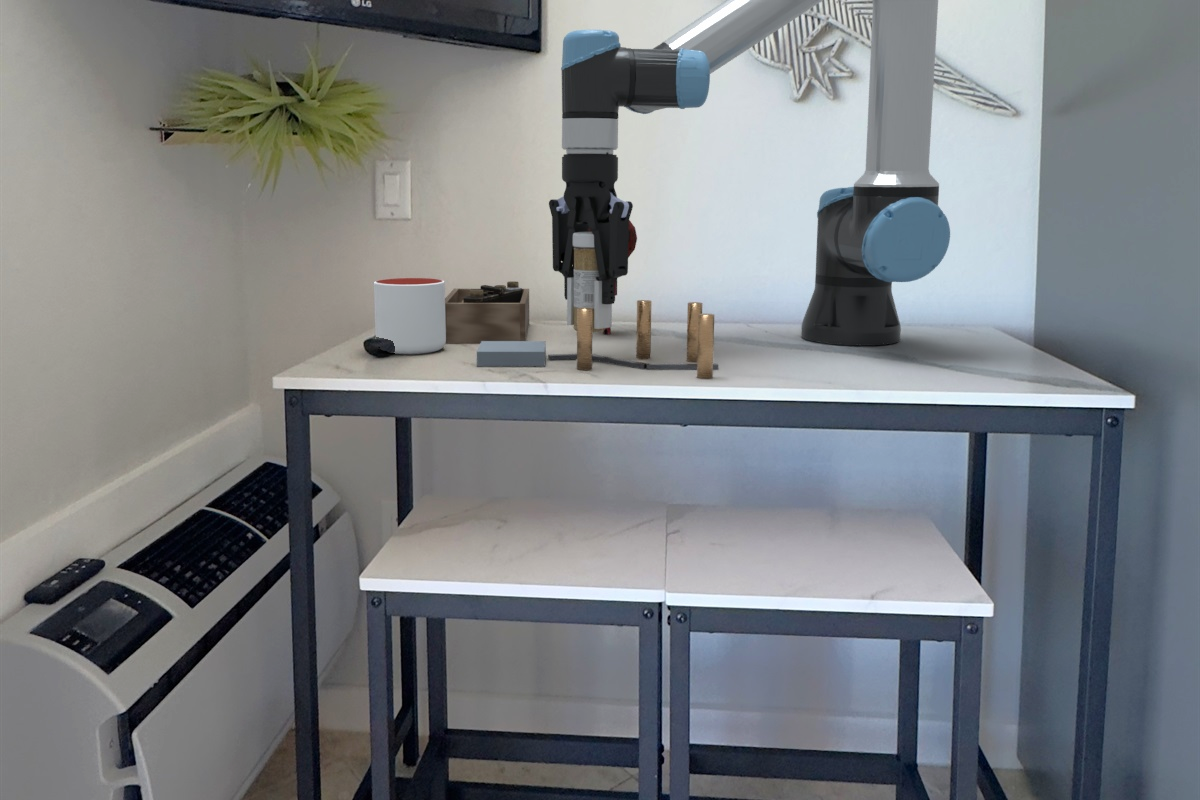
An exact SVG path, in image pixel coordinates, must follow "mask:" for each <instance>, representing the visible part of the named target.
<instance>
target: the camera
mask: <svg viewBox="0 0 1200 800" xmlns="http://www.w3.org/2000/svg"><path fill="white" fill-rule="evenodd" d="M519 284H520V283H519V281H507V282H506V285H503V284H502V285H501V284H499V285H498V284H497V285H494V286H493V285H486V284H484V285H480V288H470V289H471V290H470V296H467V297H464V298H463V301H462V302H461V303H520V301H521V298H522V295H523V289H524V288H522V287H519Z"/></svg>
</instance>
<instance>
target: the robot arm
mask: <svg viewBox="0 0 1200 800" xmlns="http://www.w3.org/2000/svg"><path fill="white" fill-rule="evenodd" d="M822 1H824V0H725V1H722V2H721V3H720V4H718V5H717V6H715V7H714V8H712V9H710V10H709V11H708V12H706V13H705V14H703V15H701V16H700V17H698V18H697V19H696V20H694V21H693V22H691V23H690V24H688V25H686V26H685V27H682V29H680V30H678V31H677V32H675V33H674V34H673V35H671V36H670V37H668V38H667V39H665V40H664V41H662V42H661V43H660V44H657V46H655V47H653V48H629V47H628V48H627V47H626V46H625V47H624V46H623V47H622V46H621V43H620V37H619V34H618V33H617V32H615V31H613V30H606V29H605V30H604V29H603V30H602V29H577V30H572V31H569V32H568V33H567V34H566V35H564V36H563V40H562V55H561V56H562V59H561V68H560V71H561V118H562V119H561V148H562V149H563V150H564V151H566V152H565V153H566V154H563V155H562V157H561V179H562V181H563V182H564V183H565V190H564V192H563V196H562V197H560V198H558V199H554V198H553V199H550V200H549V201H548V207H549V210H550V214H551V223H552V225H551V229H552V230H551V232H552V233H551V234H552V235H551V236H552V238H551V239H552V269H553V271H554V272H558V273H560V274H561V275H562V276H563V279H564V281H563V282H564V284H563V285H564V291H563V292H564V293H563V294H564V299H565V300H566V301H567V302H566V308H567V309H566V314H567V315H566V316H567V317H566V322H567V323H566V324H567V326H574V246H573V234H574V233H577V232H587V230H588V229H590V230H591V231H592V234H593V235H594V247H595V253H596V260H597V266H598V272H599V277H595V278H596V281H594V329H602V328H609V327H611V328H612V327H613V326H612V323H613V321H612V320H613V319H612V318H613V317H612V316H613V315H612V314H613V309H612V308H613V305H614V304H615V301H616V296H615V281H616V279H617V280H618V278H620V277H624V276H627V274H628V273H629V270H628V269H629V258H628V242H629V220H630V218H631V214H632V211H633V207H634V204H633V203H632V201H624V200H622V199H620V198H618V195H617V192H616V189H615V183H616V182H617V181H618V178H619V157H618V156H617V154H614V151H617V149H618V148H619V110H620V107H624V108H626V109H627V110H628V111H631V112H634V113H637V114H643V115H646V114H652V113H653V112H655V111H659V110H664V109H680V110H685V109H694V108H695V109H696V108H701V107H702V106H703V105H704V104H705V103H706V101H707V99H708V95H709V91H710V84H711V83H710V82H711V80H710V79H711V74H714V72H715V71H717V70H719V69H720V68H721V67H724V66H725V65H727V64H728V63H729V62H731V61H733V60H734V59H736V58H737V57H739V56H740V55H741V54H743V53H745V52H746V51H748V50H750V49H751V48H752V47H754V46H755V45H757V44H758V43H760V42H762V41H763V40H765V39H766V38H767V37H770V36H771V35H772V34H774V33H775V32H777V31H779V30H780V29H782V28H783V27H785V26H786V25H788V24H789V23H791V22H792V21H794V20H795V19H796V18H799V17H801V16H802V15H804V13H806V12H808V11H809V10H811V9H812V8H814V7H816V6H817V5H819V4H820V3H821V2H822ZM938 9H939V0H872V14H871V15H872V18H871V38H870V39H871V40H870V58H869V59H870V60H869V81H868V82H869V84H868V85H869V86H868V87H869V88H868V105H867V106H868V108H867V127H866V128H867V130H866V131H867V133H866V152H865V154H866V155H865V171H864V172H863V174H862V175H861V176H860V177H859V178H858V179H857V180H856V181H855V182H854V183H853V186H849V187H838V188H836V187H835V188H832V189H828V190H826V191H824V192H823V193H822V194H821V196H820V198H819V201H818V202H819V205H818V210H817V212H816V217H817V229H816V230H817V231H816V232H817V233H816V255H815V256H816V257H815V279H814V289H813V293H812V295H811V297H810V300H809V302H808V306H807V308H806V311H805V314H804V317H803V319H802V322H801V334H800V337H801V338H803V339H805V340H807V341H811V342H816V343H822V344H829V345H830V344H831V345H844V346H880V345H881V346H883V345H890V344H894V343H898V342H900V340H901V330H902V328H901V327H902V326H901V322H900V318H899V315H898V311H897V308H896V304H895V300H894V296H893V292H892V289H893V287H892V283H910V282H913V281H917V280H919V279H920V280H921V279H922V278H924V277H925V276H927V275H929V274H931V272H933V271H935V269H936V268H937V267H938V266H939V265H940V264H941V262H942V260H943V259H944V257H945V256H946V253H947V251H948V249H949V245H950V241H951V227H950V223H949V220H948V218H947V215H946V214H945V213H944V212H943V210H942V209H941V207H940V206H939V192H940V183H939V182H938V181H937V180H936V178H935V177H933V175H931V173H930V170H929V168H930V152H931V151H930V149H931V137H932V135H931V134H932V117H933V115H932V113H933V100H934V96H933V95H934V85H935V84H934V81H935V65H936V44H937V31H938V30H937V28H938V13H939V11H938ZM611 213H612V214H611ZM607 269H608V270H607Z"/></svg>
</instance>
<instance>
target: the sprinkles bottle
mask: <svg viewBox="0 0 1200 800" xmlns="http://www.w3.org/2000/svg"><path fill="white" fill-rule="evenodd" d="M573 246H574V325H572V327H573V330H574V331H576V332H577V308H592V333H600V332H603V330H605V329H606V328H602V329H594V281H596V278H595V277H599V272H598V266H597V260H596V253H595V247H594V235H593V234H592V232H577V233H574V234H573Z"/></svg>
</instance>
